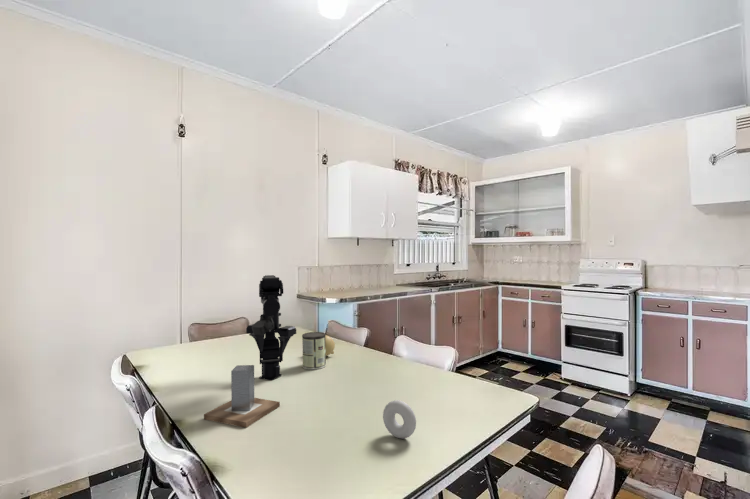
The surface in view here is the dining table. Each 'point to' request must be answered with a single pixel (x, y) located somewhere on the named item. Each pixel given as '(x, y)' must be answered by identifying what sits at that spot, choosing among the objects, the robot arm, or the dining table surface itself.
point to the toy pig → (329, 345)
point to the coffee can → (314, 350)
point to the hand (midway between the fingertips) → (271, 353)
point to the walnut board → (242, 413)
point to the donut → (406, 414)
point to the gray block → (242, 387)
